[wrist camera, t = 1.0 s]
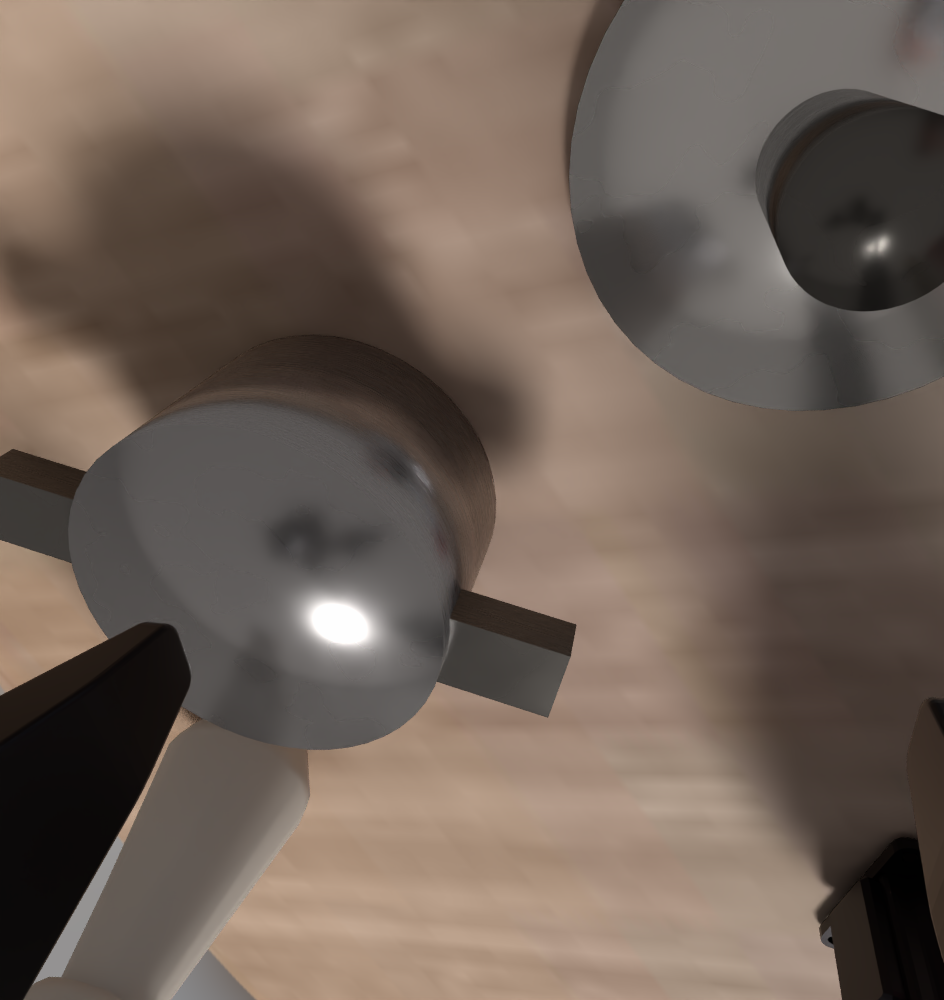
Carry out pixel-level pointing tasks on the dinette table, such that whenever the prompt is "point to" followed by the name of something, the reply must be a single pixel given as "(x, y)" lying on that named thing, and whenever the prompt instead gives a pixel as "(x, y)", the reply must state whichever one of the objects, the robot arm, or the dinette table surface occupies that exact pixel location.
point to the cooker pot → (298, 546)
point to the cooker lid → (769, 194)
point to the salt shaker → (185, 864)
